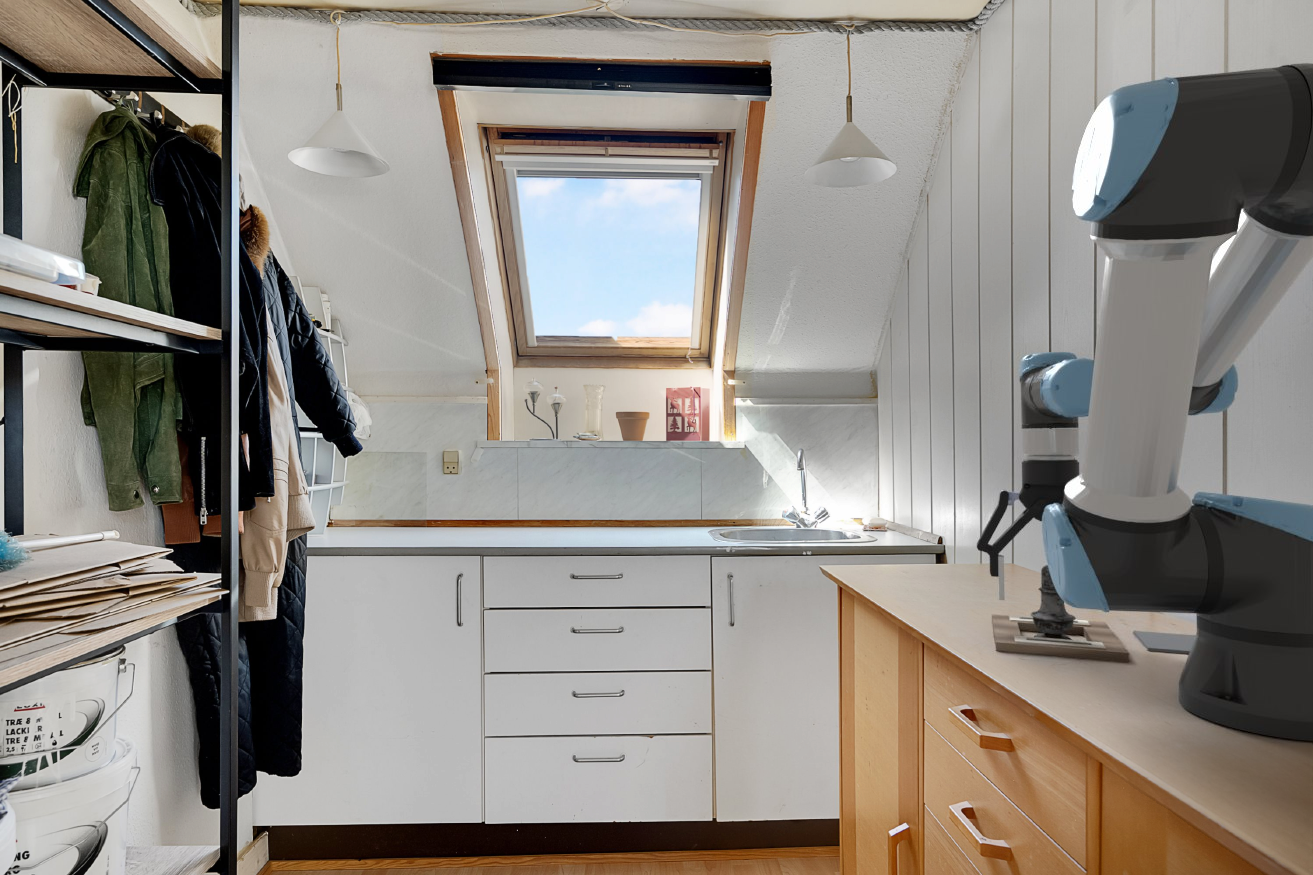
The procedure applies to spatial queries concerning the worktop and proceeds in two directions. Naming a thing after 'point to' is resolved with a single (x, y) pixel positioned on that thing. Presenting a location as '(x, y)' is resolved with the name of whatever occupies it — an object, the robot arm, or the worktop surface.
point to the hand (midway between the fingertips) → (1052, 601)
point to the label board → (1096, 634)
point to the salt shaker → (1051, 611)
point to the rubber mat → (1166, 641)
